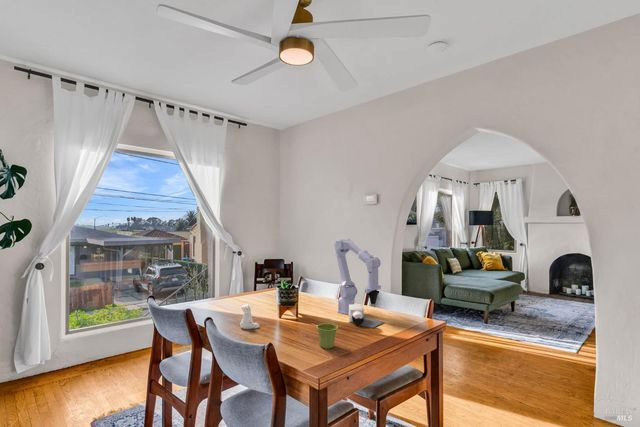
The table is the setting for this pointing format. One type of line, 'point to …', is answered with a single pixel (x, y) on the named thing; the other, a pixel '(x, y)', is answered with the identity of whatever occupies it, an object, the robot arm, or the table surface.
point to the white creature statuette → (247, 319)
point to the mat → (370, 323)
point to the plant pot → (327, 335)
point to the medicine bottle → (356, 313)
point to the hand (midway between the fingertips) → (373, 303)
